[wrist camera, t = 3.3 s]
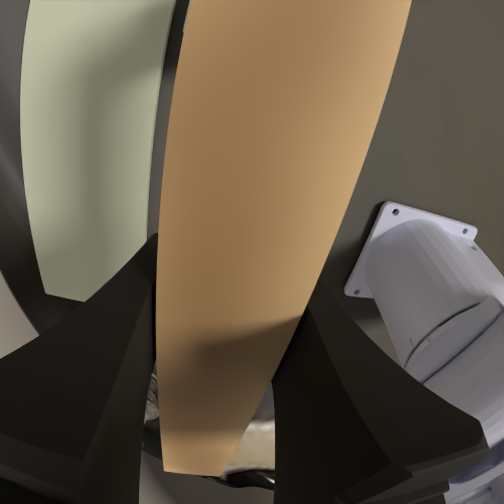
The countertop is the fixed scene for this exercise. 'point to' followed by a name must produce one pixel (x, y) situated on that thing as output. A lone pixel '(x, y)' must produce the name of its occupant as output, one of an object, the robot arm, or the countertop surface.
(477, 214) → the countertop surface
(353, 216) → the countertop surface
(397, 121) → the countertop surface
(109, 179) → the sage mat
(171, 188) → the oak bar
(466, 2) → the countertop surface
